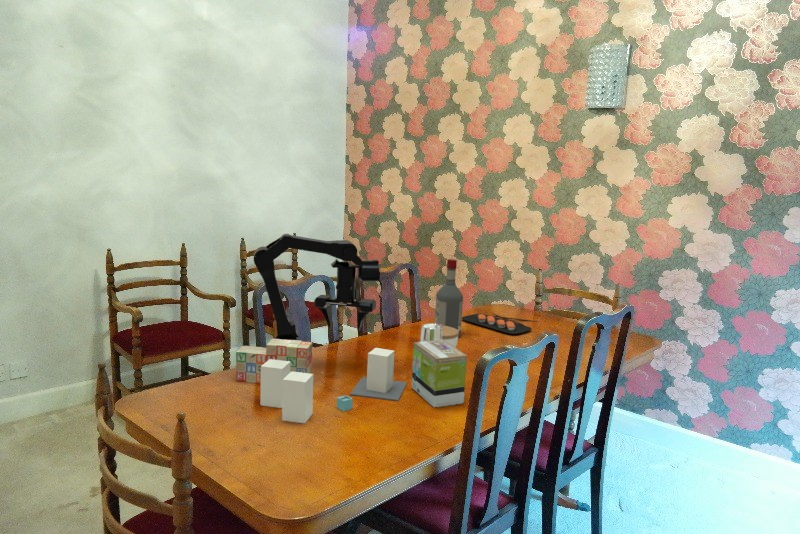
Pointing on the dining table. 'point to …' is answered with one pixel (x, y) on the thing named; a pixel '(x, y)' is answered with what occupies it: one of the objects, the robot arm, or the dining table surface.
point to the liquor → (449, 300)
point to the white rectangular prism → (380, 370)
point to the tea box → (439, 373)
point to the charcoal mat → (391, 394)
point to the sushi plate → (498, 323)
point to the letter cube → (344, 403)
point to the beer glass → (431, 332)
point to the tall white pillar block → (297, 397)
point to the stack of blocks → (276, 349)
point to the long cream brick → (273, 382)
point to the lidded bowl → (450, 335)
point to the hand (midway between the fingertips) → (344, 329)
